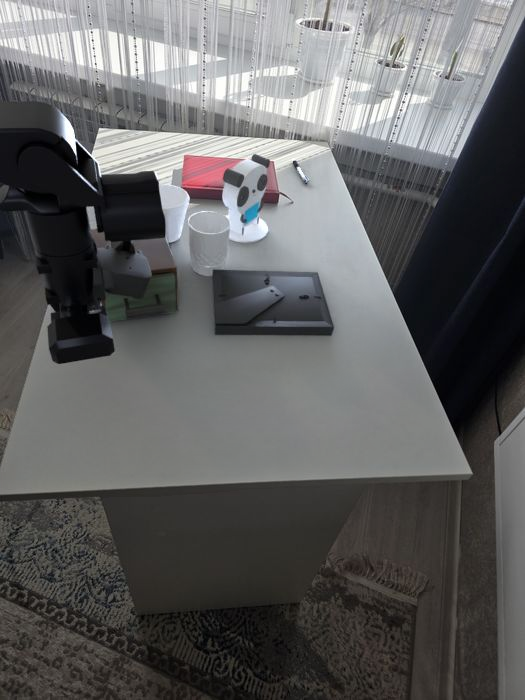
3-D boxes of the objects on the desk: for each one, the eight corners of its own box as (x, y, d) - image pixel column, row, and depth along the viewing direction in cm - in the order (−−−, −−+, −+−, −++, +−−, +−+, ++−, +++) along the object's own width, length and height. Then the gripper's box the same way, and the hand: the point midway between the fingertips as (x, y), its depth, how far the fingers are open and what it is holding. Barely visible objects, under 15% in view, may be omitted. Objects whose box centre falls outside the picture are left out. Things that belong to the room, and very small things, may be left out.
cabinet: (178, 311, 83) (177, 267, 77) (104, 321, 80) (96, 276, 73) (162, 266, 92) (160, 223, 85) (96, 273, 88) (87, 229, 81)
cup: (199, 235, 101) (199, 195, 94) (168, 255, 95) (166, 214, 88) (163, 218, 104) (162, 178, 97) (131, 236, 98) (127, 195, 91)
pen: (310, 185, 122) (311, 181, 121) (304, 185, 122) (305, 181, 121) (296, 161, 131) (297, 157, 131) (290, 161, 131) (291, 157, 130)
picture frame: (214, 334, 80) (331, 335, 83) (215, 322, 78) (335, 324, 81) (212, 278, 91) (315, 280, 94) (212, 266, 89) (318, 269, 92)
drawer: (181, 328, 79) (181, 293, 74) (112, 339, 76) (105, 303, 70) (161, 269, 90) (160, 234, 84) (100, 277, 86) (93, 240, 81)
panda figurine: (247, 250, 99) (253, 183, 88) (205, 229, 103) (206, 163, 92) (277, 227, 106) (287, 163, 96) (237, 209, 110) (242, 145, 99)
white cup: (203, 283, 90) (204, 238, 82) (180, 262, 93) (179, 217, 86) (235, 270, 94) (239, 226, 86) (212, 250, 97) (214, 207, 90)
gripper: (159, 287, 45) (165, 389, 56) (129, 191, 57) (139, 291, 68) (33, 303, 41) (66, 408, 53) (28, 198, 53) (57, 302, 64)
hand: (87, 346), depth 59 cm, fingers closed
